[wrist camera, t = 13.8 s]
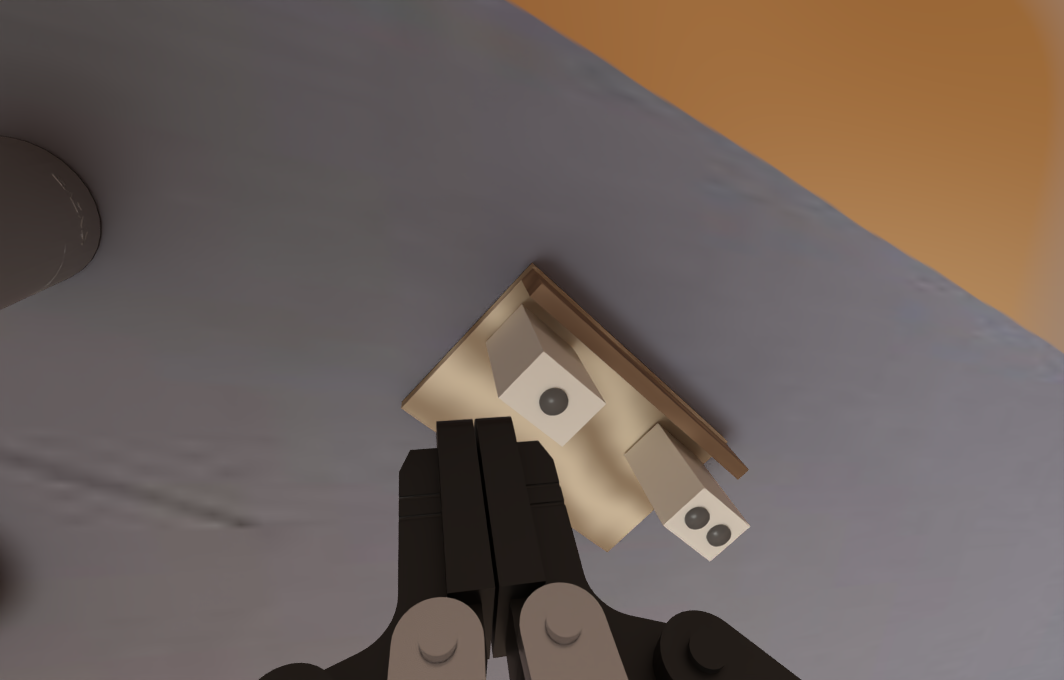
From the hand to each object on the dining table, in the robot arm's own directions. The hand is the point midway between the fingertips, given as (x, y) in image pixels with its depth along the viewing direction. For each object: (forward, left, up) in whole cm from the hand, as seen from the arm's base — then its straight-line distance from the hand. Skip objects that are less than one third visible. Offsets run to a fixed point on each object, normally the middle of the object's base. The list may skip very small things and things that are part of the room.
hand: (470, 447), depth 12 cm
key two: (+15, -23, -30) cm, 41 cm away
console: (+8, -19, -31) cm, 37 cm away
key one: (+5, -11, -30) cm, 32 cm away
